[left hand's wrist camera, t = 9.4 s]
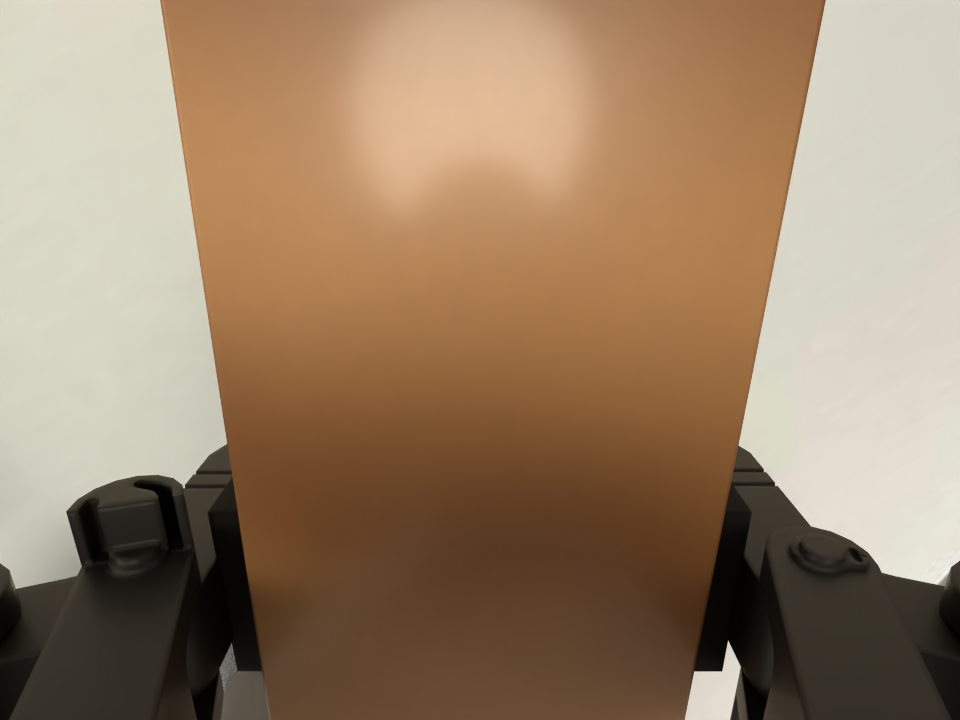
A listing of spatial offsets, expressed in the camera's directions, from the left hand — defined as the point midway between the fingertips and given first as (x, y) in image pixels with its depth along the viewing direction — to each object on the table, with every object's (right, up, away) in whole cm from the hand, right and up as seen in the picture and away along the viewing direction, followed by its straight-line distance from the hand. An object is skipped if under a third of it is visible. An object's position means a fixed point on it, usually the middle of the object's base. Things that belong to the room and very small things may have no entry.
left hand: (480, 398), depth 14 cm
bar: (+1, +30, -11) cm, 32 cm away
